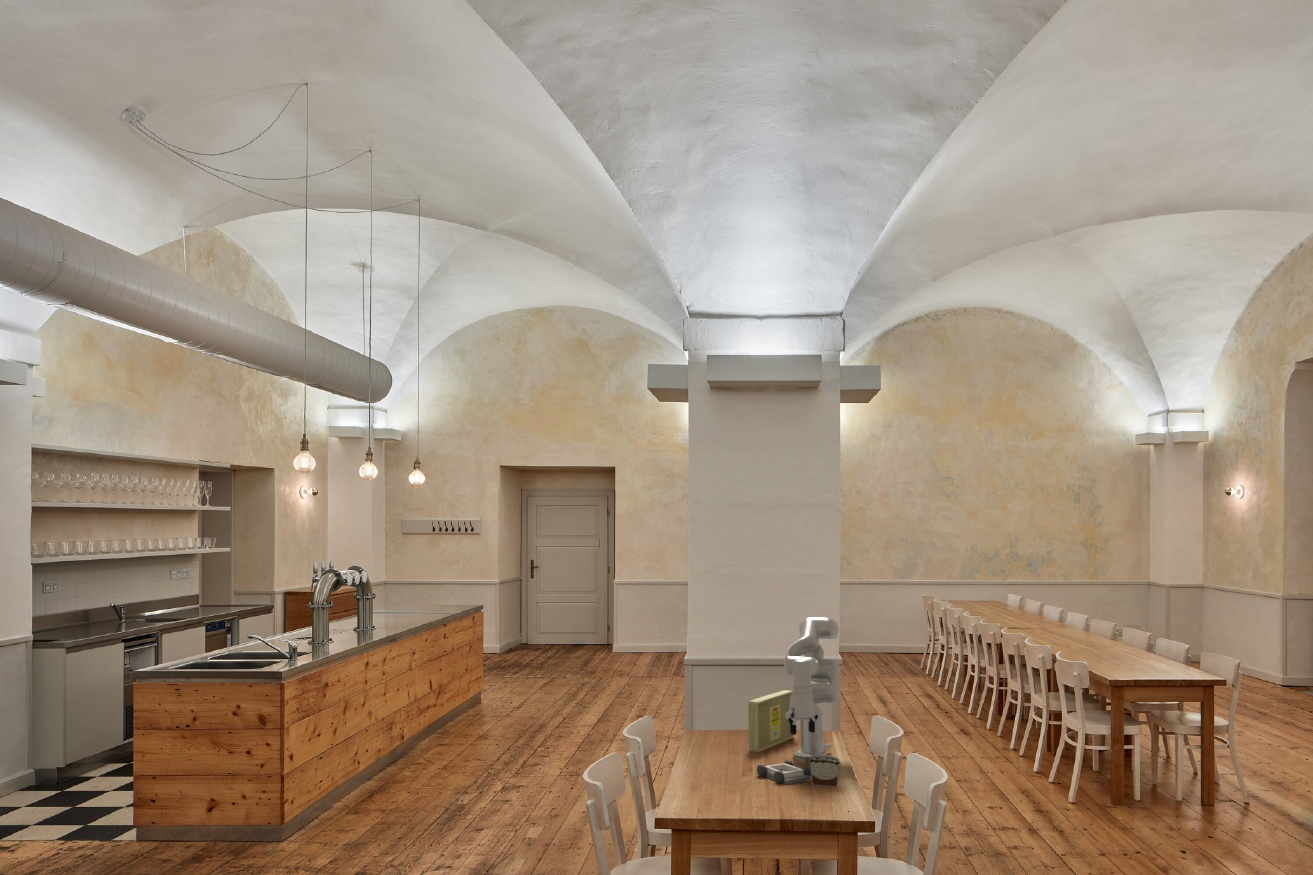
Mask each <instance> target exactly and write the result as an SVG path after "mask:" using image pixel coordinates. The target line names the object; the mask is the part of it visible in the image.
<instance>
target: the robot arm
mask: <svg viewBox="0 0 1313 875" xmlns="http://www.w3.org/2000/svg"><path fill="white" fill-rule="evenodd" d="M838 635H839V625H838V622H837V621H836V620H835V619H834V618H830V617H822V616H821V617H820V616H819V617H818V616H815V617H814V616H810V617H805V618H804V619H803V620H802V621H801V622H800V623H799V636H798V637H799V638H798V640H796V641H795V642H793V643H792V644H791V645H790V646H788V648H787V649H786V652H785V654H784V655H785V657H784V661H783V668H784V672H785V673H786V674H788V675H791V676H792V691H793V693H792V694H791V698H790V707H789V711H788V712H786V713H785V716H786V718H787V721H788V722H789V724H790V734H793V735H794V736H797V724H796V723H797V721H799V720H800V749H798V750H797V753H804V754H808V755H811V756H812V757H813V756H828V753H827V751H826V750H827V749H831V748H832V744H831V743H824V734H823V733H824V731H823V730H824V729H823V728H824V727H823V726H824V725H823V724H824V723H823V719H824V716H823V712H822V710H821V708H820V707H819V705H818V704H830V705H831V704H836V703H837V702H838V700H839V696H840V675H841V669H840V665H839V662H838V661H837V660H836V659H832V658H824V657H825V656H824V655H825V651H824V648H823V647H822V646H821V644H820V643H819V642H820V640H835V639H836V638H838ZM797 753H796V754H797Z"/></svg>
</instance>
